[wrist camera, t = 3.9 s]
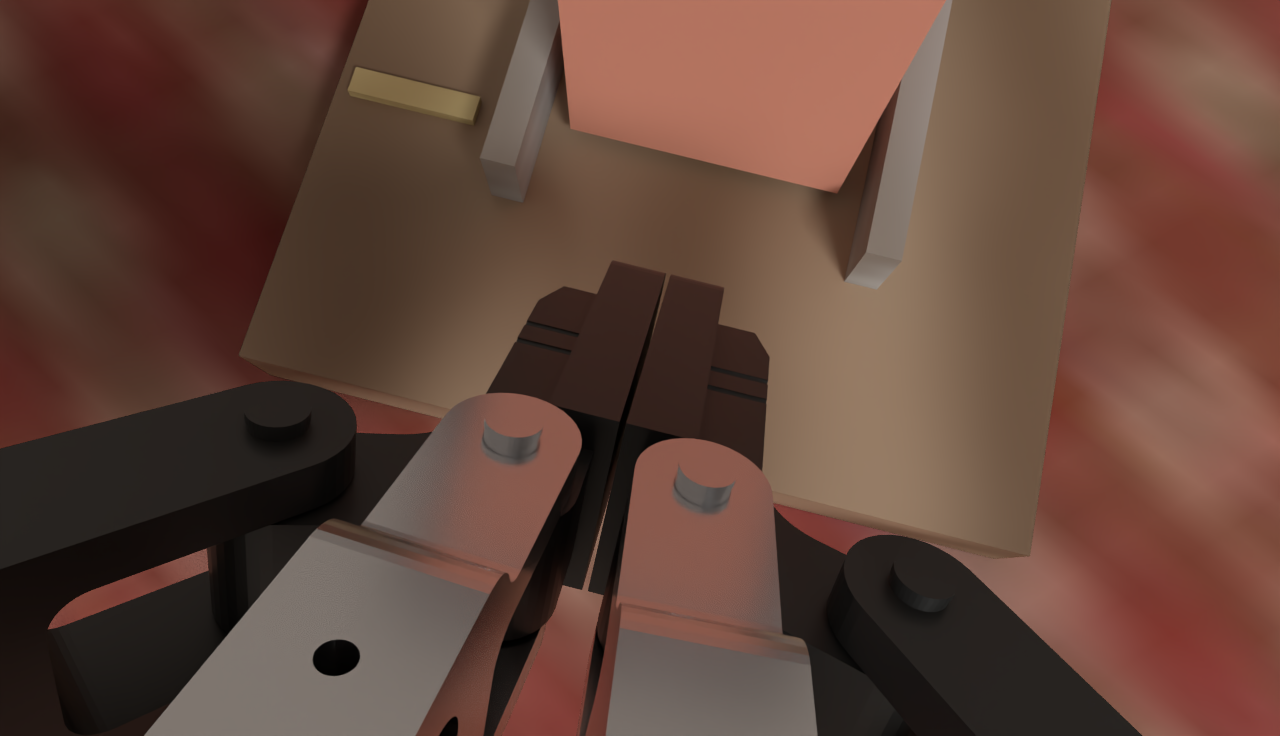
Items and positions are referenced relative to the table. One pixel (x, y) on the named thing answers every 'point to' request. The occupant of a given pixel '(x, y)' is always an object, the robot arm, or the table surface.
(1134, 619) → the table surface
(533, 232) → the stand
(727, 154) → the plug
